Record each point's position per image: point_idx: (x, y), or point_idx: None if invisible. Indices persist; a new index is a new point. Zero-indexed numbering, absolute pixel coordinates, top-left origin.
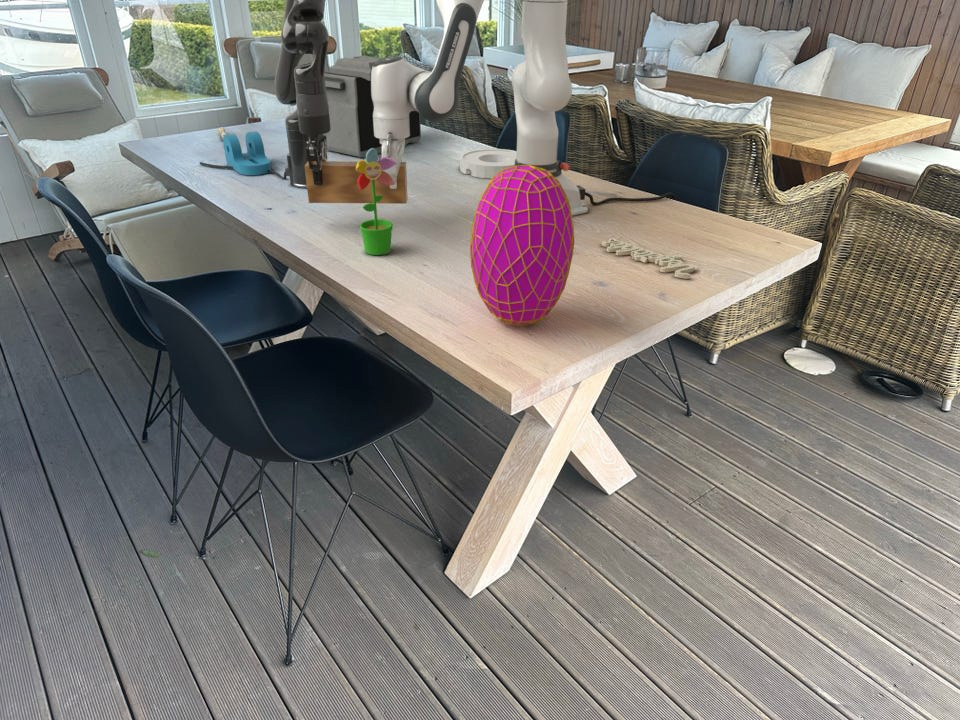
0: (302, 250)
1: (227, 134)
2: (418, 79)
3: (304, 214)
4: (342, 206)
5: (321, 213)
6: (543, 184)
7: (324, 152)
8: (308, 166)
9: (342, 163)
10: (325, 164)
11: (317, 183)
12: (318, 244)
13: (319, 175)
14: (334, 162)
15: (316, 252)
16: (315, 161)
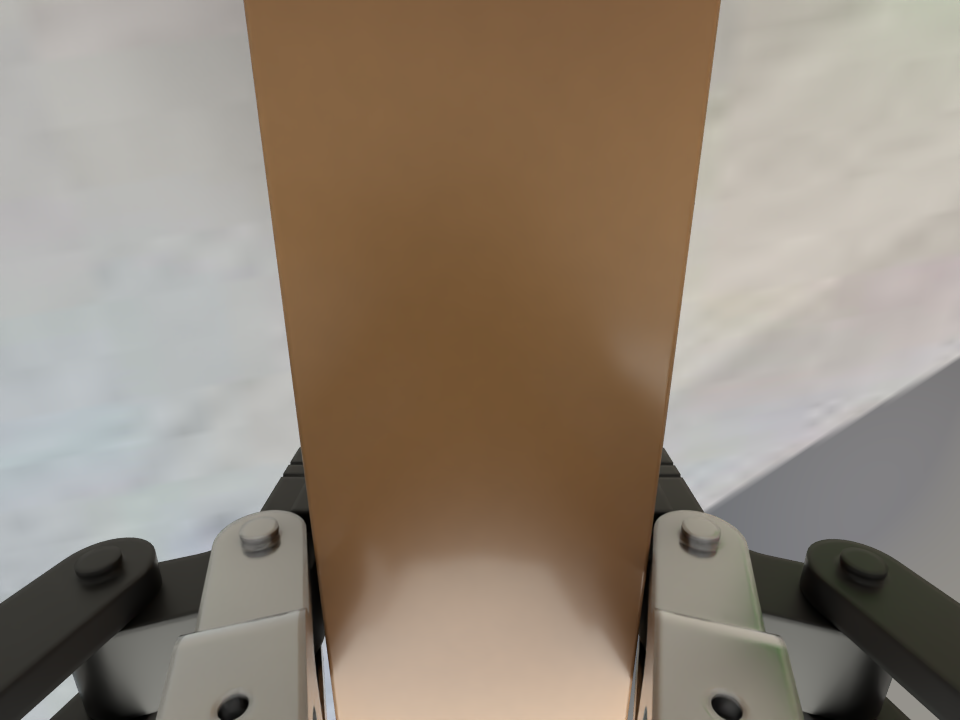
0: (854, 365)
1: None
2: None
3: (260, 464)
4: (54, 266)
5: (225, 375)
6: None
7: (306, 704)
8: (626, 716)
9: (461, 168)
10: (557, 506)
11: None
12: (775, 296)
13: (689, 495)
14: (388, 366)
15: (904, 284)
16: (352, 681)
